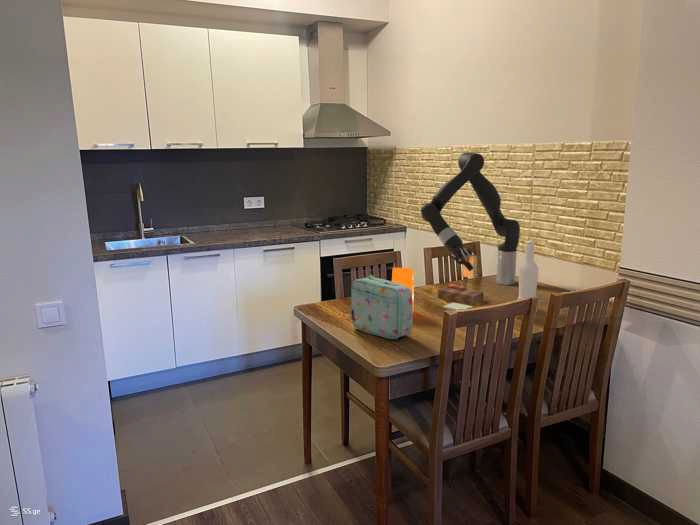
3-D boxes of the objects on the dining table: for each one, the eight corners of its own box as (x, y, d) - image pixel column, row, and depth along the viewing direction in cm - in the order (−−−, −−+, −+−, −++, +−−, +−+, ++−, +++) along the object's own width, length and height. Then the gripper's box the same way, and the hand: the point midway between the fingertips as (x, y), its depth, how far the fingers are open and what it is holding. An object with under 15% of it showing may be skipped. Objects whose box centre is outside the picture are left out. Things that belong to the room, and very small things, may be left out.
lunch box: (345, 327, 197) (344, 275, 193) (363, 321, 204) (363, 270, 200) (397, 344, 179) (397, 287, 174) (415, 337, 186) (415, 281, 181)
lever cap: (462, 276, 225) (462, 255, 223) (465, 275, 227) (466, 254, 225) (472, 278, 221) (473, 257, 219) (476, 276, 223) (477, 256, 221)
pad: (443, 307, 220) (443, 306, 220) (452, 303, 226) (452, 302, 226) (463, 312, 213) (463, 310, 213) (472, 307, 219) (472, 306, 219)
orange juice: (412, 316, 209) (412, 270, 205) (391, 315, 211) (391, 269, 207) (413, 310, 217) (413, 266, 212) (393, 310, 218) (393, 265, 214)
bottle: (532, 313, 209) (537, 243, 203) (513, 310, 214) (517, 241, 208) (538, 308, 216) (543, 240, 209) (520, 305, 220) (523, 238, 214)
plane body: (437, 297, 235) (437, 286, 234) (449, 293, 242) (449, 281, 241) (472, 305, 223) (472, 292, 222) (483, 300, 230) (483, 287, 229)
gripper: (446, 236, 220) (470, 267, 214) (463, 232, 230) (486, 261, 224) (436, 247, 225) (459, 277, 219) (453, 242, 235) (476, 270, 229)
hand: (473, 268), depth 222 cm, fingers closed on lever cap, 3 cm apart
